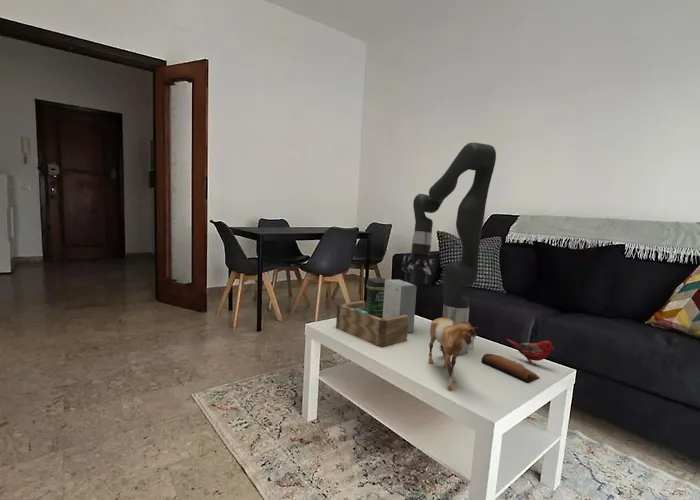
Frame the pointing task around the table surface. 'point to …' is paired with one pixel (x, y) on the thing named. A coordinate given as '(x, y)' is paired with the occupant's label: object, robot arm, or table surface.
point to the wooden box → (371, 325)
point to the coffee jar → (375, 296)
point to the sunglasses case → (510, 367)
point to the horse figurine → (451, 341)
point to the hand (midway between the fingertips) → (416, 282)
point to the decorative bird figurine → (534, 350)
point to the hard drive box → (399, 301)
